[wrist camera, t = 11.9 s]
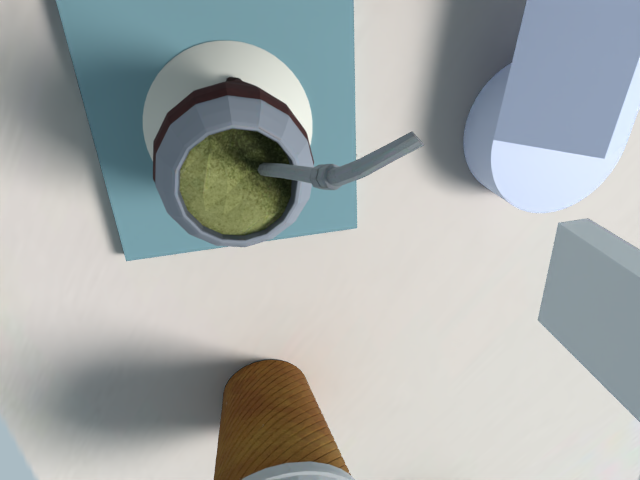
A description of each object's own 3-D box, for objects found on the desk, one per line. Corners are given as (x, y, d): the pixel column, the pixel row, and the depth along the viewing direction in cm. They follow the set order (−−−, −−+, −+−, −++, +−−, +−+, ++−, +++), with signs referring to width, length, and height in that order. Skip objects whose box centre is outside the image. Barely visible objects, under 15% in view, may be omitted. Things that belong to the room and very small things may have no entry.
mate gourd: (159, 191, 27) (120, 380, 14) (163, 39, 24) (117, 97, 10) (291, 201, 29) (367, 374, 16) (312, 62, 25) (429, 134, 12)
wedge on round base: (497, -31, 26) (450, 193, 32) (582, -38, 21) (506, 238, 26) (634, -14, 28) (567, 193, 34) (746, -17, 23) (643, 234, 28)
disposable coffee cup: (194, 440, 37) (191, 617, 26) (208, 338, 33) (211, 498, 22) (314, 437, 39) (355, 596, 29) (340, 342, 36) (398, 487, 25)
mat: (58, -8, 23) (53, -8, 22) (348, -24, 25) (353, -24, 24) (127, 254, 29) (125, 261, 28) (353, 222, 31) (357, 228, 31)
